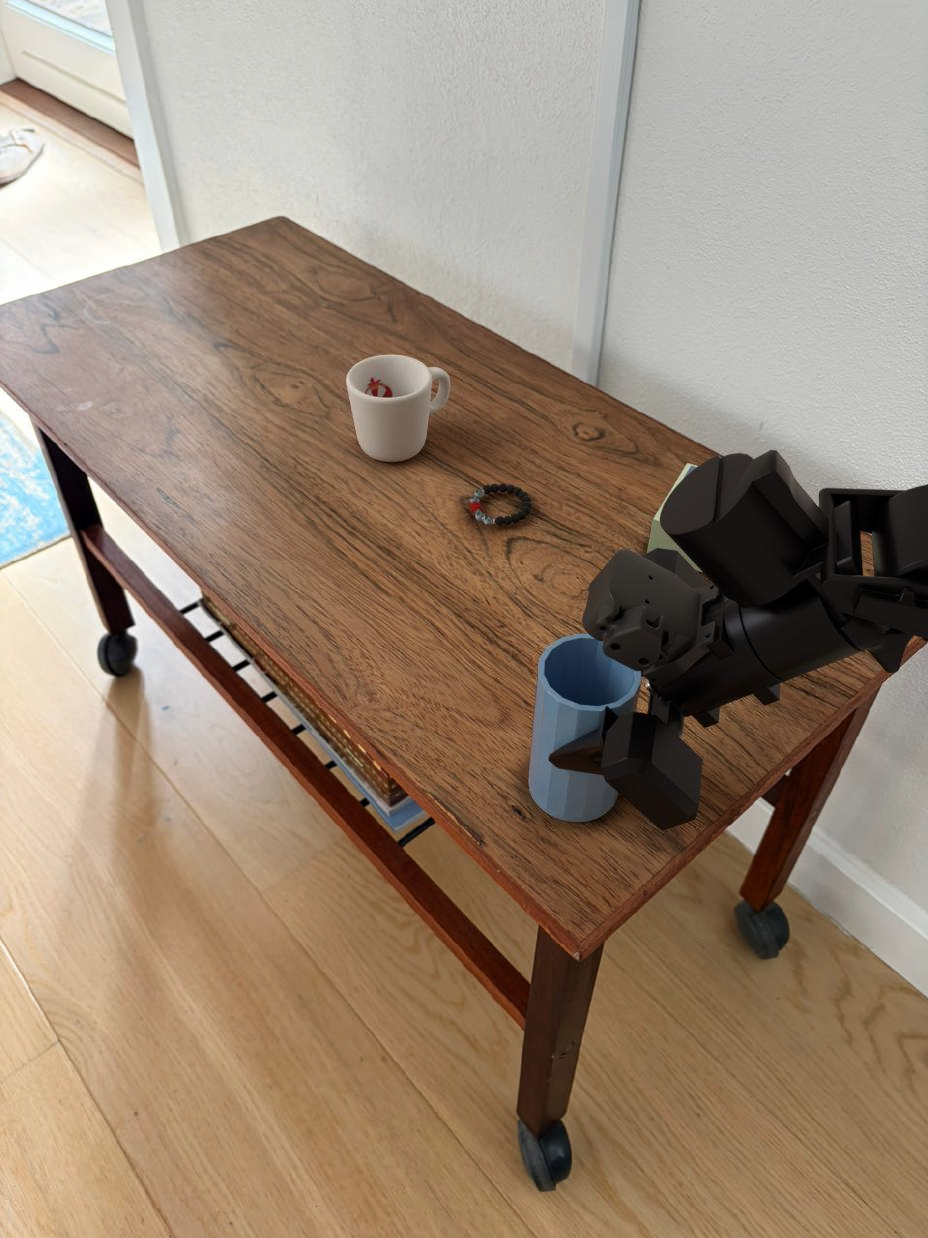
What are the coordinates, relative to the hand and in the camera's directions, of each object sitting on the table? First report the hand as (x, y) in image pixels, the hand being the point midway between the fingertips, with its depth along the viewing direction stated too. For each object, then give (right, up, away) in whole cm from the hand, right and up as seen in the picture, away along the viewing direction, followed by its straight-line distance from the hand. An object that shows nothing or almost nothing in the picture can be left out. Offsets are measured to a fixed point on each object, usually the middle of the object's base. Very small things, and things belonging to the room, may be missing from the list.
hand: (561, 721), depth 67 cm
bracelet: (-3, +17, +26) cm, 31 cm away
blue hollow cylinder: (+1, -5, +4) cm, 7 cm away
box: (+16, +14, +23) cm, 31 cm away
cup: (-12, +24, +33) cm, 43 cm away
